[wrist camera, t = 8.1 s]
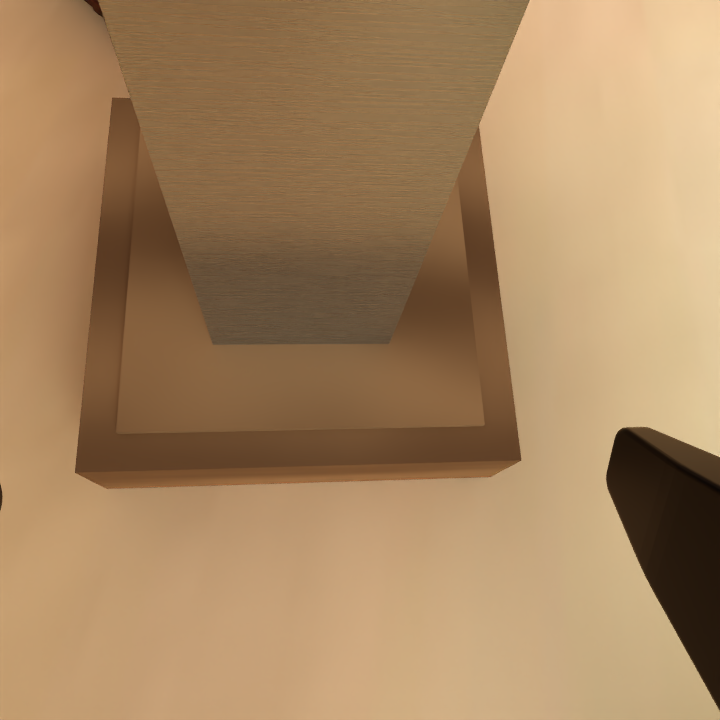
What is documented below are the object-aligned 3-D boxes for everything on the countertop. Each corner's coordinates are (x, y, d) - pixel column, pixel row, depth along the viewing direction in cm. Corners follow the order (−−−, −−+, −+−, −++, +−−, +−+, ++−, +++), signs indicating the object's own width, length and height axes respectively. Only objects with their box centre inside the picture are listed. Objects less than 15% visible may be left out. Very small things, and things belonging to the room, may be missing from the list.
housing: (389, 343, 18) (643, -281, 5) (213, 344, 18) (-20, -353, 5) (380, 194, 20) (555, -576, 7) (218, 191, 20) (58, -653, 6)
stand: (490, 477, 21) (523, 459, 18) (106, 488, 19) (72, 471, 16) (455, 164, 25) (478, 106, 22) (134, 156, 23) (110, 93, 20)
